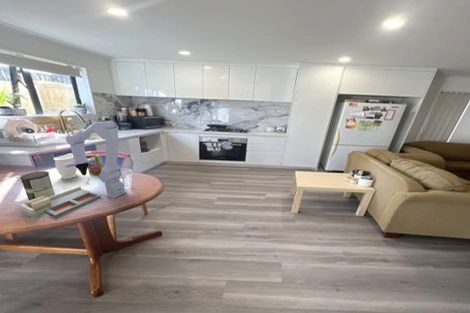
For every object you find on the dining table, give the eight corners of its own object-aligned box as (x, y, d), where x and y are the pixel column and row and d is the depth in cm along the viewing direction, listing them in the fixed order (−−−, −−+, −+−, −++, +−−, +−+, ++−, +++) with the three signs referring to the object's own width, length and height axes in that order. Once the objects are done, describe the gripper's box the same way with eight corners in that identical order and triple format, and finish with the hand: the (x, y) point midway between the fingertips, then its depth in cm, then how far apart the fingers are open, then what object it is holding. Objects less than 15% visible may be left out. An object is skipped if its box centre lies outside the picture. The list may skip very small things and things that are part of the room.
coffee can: (23, 203, 90) (14, 179, 86) (35, 194, 99) (28, 172, 95) (49, 200, 94) (41, 177, 90) (59, 191, 103) (52, 170, 99)
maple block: (51, 205, 86) (49, 198, 85) (35, 211, 81) (32, 204, 80) (45, 202, 88) (43, 195, 87) (28, 208, 83) (26, 201, 82)
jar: (71, 173, 128) (66, 154, 124) (82, 174, 127) (78, 155, 123) (55, 178, 118) (49, 158, 114) (67, 180, 117) (62, 160, 113)
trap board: (101, 198, 98) (99, 191, 97) (44, 223, 76) (41, 215, 75) (80, 191, 104) (78, 184, 103) (23, 212, 83) (19, 204, 82)
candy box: (88, 174, 127) (84, 155, 123) (92, 172, 131) (88, 153, 127) (101, 174, 128) (97, 155, 124) (105, 172, 132) (101, 153, 128)
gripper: (88, 150, 109) (93, 169, 113) (59, 156, 96) (65, 177, 100) (95, 151, 107) (99, 171, 111) (67, 158, 94) (72, 180, 98)
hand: (84, 174), depth 105 cm, fingers closed
